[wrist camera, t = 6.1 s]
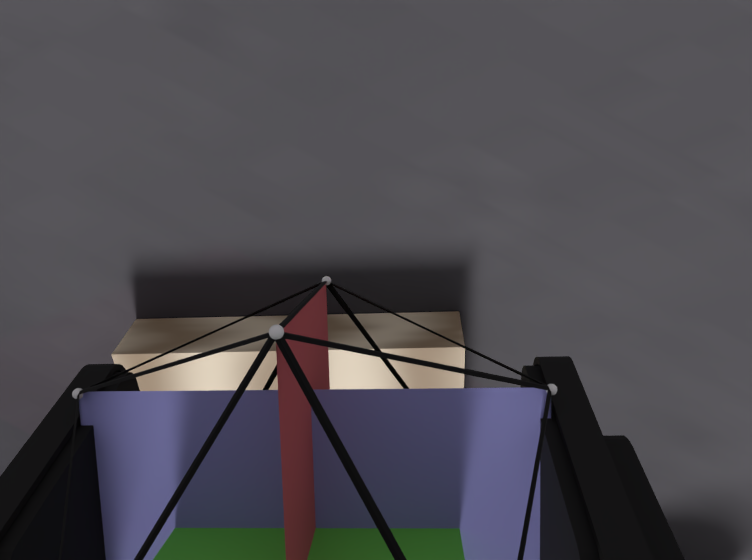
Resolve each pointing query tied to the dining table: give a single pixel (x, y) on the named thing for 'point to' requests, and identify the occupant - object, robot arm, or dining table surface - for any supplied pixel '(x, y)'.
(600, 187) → the dining table surface
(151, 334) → the birch platform
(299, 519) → the geometric puzzle
